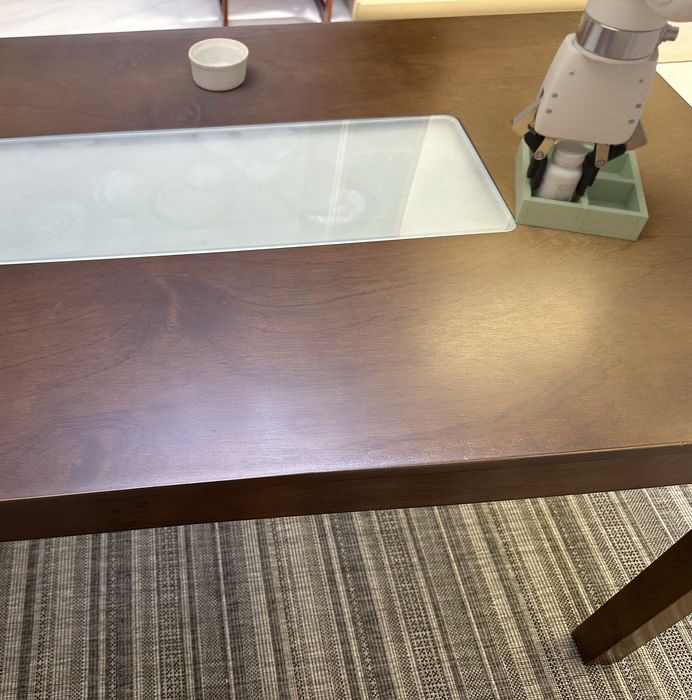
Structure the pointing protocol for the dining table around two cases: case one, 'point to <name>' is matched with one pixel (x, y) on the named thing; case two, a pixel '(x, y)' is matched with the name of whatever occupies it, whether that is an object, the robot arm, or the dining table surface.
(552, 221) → the grid
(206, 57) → the ramekin
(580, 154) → the pill bottle
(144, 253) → the dining table surface
